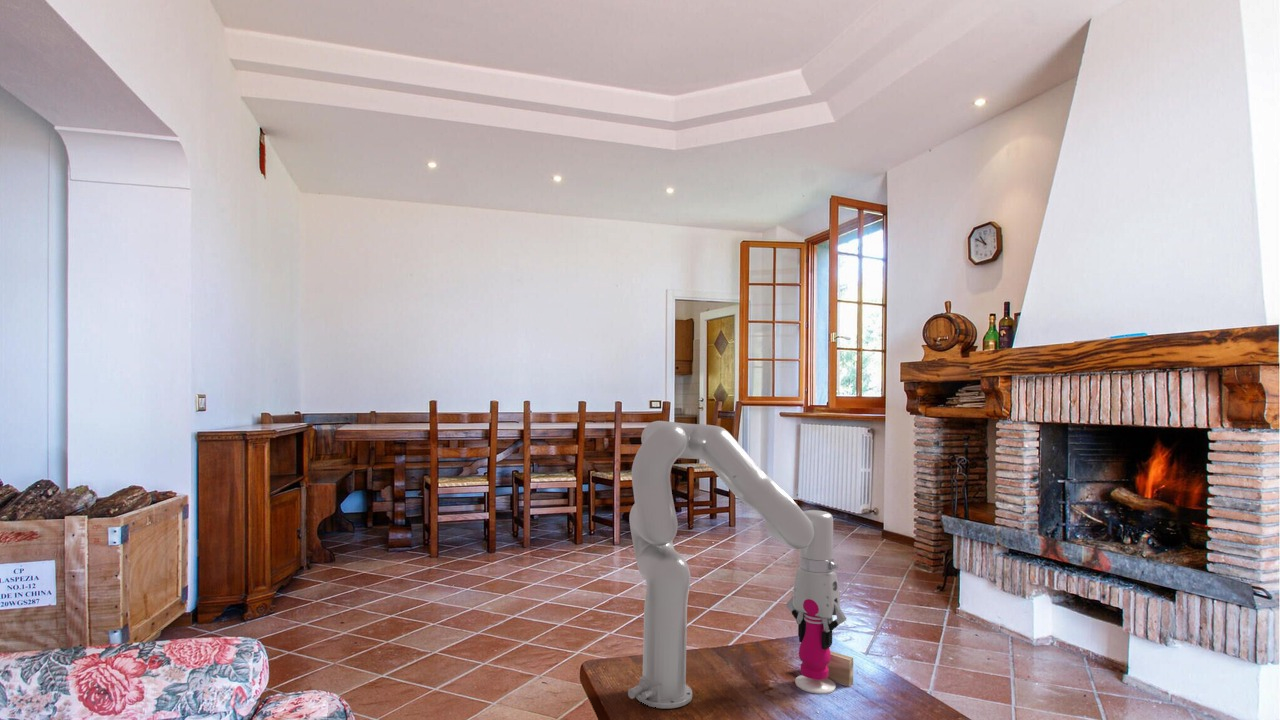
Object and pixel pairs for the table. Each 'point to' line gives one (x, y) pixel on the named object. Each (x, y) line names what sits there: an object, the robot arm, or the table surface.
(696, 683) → the table surface
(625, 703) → the table surface
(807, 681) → the coaster
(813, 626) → the pepper mill
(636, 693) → the robot arm
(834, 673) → the oak rail
